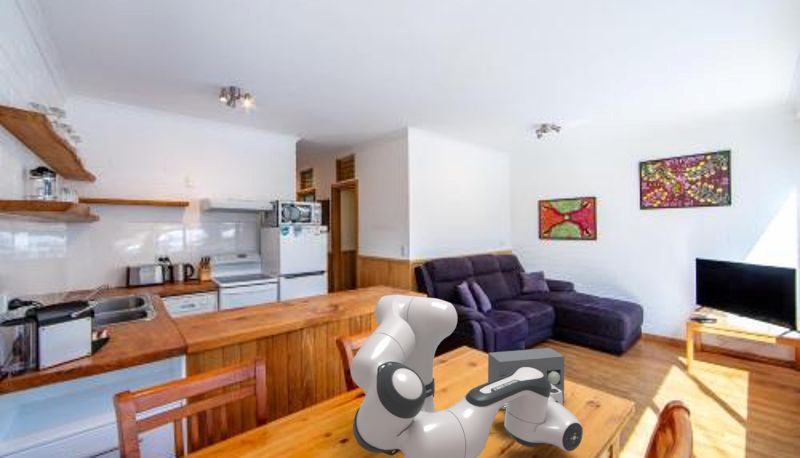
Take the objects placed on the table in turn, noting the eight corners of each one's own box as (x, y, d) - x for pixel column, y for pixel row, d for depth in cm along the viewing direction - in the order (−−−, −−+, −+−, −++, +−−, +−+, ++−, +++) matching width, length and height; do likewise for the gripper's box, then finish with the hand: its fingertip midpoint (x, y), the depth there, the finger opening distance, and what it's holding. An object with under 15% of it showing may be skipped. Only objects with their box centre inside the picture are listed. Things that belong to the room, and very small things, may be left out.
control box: (499, 410, 114) (499, 361, 113) (487, 398, 122) (488, 352, 121) (563, 402, 119) (564, 356, 118) (549, 391, 127) (549, 347, 126)
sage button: (548, 385, 117) (549, 372, 117) (545, 382, 119) (545, 370, 119) (559, 383, 118) (560, 371, 118) (556, 381, 120) (556, 369, 120)
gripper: (502, 419, 98) (481, 395, 112) (566, 411, 103) (538, 389, 116) (503, 397, 98) (481, 376, 112) (566, 390, 103) (538, 370, 116)
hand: (511, 382), depth 114 cm, fingers closed, pressing on cream button
